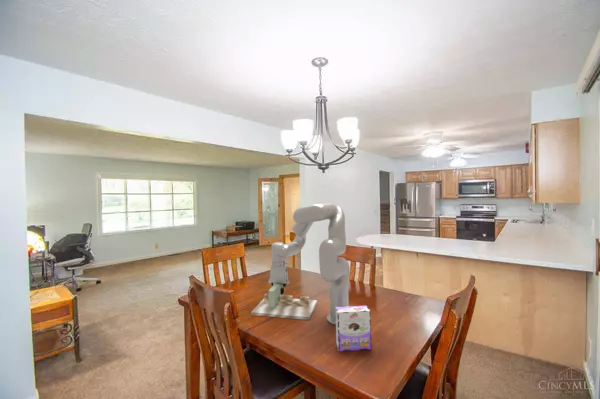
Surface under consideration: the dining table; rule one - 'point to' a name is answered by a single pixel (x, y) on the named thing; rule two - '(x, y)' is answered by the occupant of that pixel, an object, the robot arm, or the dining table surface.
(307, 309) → the white rectangular board
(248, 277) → the dining table surface
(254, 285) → the dining table surface
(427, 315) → the dining table surface
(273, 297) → the cross piece
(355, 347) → the candy box
